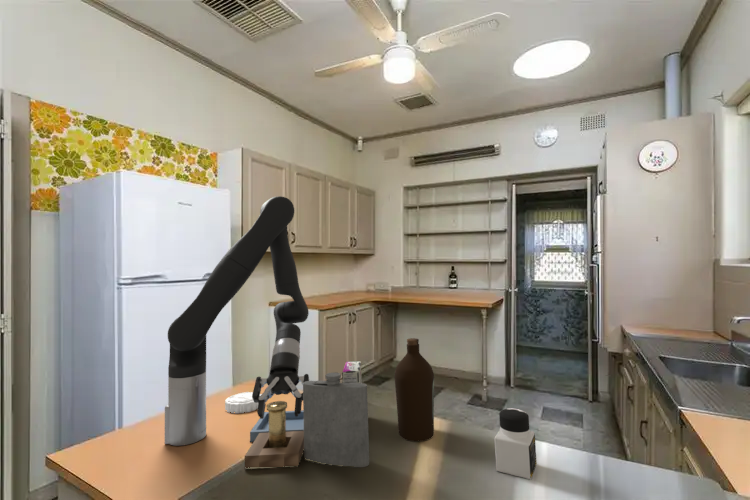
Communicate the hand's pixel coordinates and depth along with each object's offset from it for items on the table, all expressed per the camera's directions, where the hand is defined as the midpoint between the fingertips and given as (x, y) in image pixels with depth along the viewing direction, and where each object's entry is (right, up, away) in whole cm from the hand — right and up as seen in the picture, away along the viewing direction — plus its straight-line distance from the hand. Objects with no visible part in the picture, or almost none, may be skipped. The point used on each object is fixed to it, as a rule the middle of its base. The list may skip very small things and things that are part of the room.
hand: (278, 416), depth 90 cm
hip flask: (+15, -8, -6) cm, 18 cm away
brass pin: (0, -9, -2) cm, 9 cm away
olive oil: (+35, -8, +7) cm, 37 cm away
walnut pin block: (0, -9, -2) cm, 9 cm away
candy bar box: (+18, -9, +16) cm, 25 cm away
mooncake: (-20, -12, +32) cm, 40 cm away
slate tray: (-2, -10, +13) cm, 16 cm away
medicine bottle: (+55, -7, -11) cm, 56 cm away
